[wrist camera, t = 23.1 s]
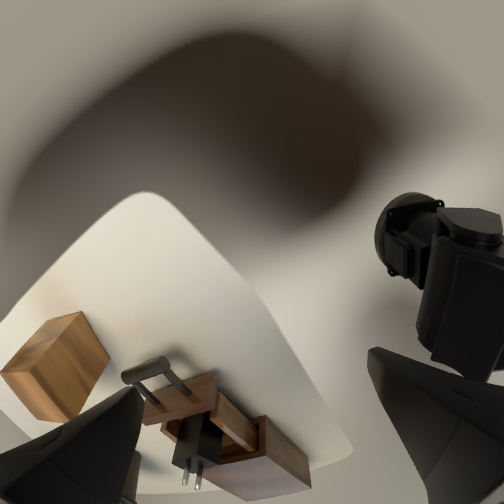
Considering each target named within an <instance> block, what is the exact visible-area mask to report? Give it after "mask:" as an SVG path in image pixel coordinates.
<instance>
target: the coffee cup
mask: <svg viewBox="0 0 504 504" xmlns="http://www.w3.org/2000/svg"><path fill="white" fill-rule="evenodd" d="M140 462H141V455H140V454H139V453H138V452H137V451H136V450H135V451H134V455H133V458H132V462H131V465H130V469H129V473H128V476H127V480H126V484H125V487H124V491H123V495H122V499H121V503H120V504H137V502H135V498H136V490H137V482H138V475H139V468H140Z"/></svg>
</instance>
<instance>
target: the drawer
mask: <svg viewBox="0 0 504 504" xmlns="http://www.w3.org/2000/svg"><path fill="white" fill-rule="evenodd" d="M162 373H163V375H164V376H165V377H166V378H167V379H168V380H169V381H170V382H171V383H172V384H173V385H172V386H169V387H166V388H163V389H160V390H157V391H154V392H150V391H149V390H148V389H147V388H146V387H145V386H144V385H143V384H142V383H141V382H140V381H142V380H145V379H148V378H151V377H154V376H156V375H159V374H162ZM121 379H122V381H123V382H124V383H125V384H127V385H130V384H132V385H133V386H134V387H136V388H137V390H138V391H139V392H140V393H141V394H142V395H143V396H144V397H145V398H146V399H145V407H144V413H143V418H142V423H143V424H144V425H145V426H148V425H153V424H158V423H162V426H161V429H160V431H161V432H162V433H163V434H165V435H166V436H167V437H168V438H170V439H171V440H172V441H174V442H175V443H176V442H177V437H178V433H179V429H180V425H181V421H182V419H183V418H185V417H188V416H191V415H195V414H199V413H203V412H206V411H210V410H211V415H210V420H211V421H212V422H213V423H214V424H216V425H217V426H218V427H219V428H220V429H221V430H223V437H222V446H221V456H220V460H221V459H226V458H231V457H236V456H240V455H245V454H249V453H253V452H257V451H259V430H258V429H257V428H256V427H255V426H254V425H253V424H252V423H251V422H250V421H249V420H248V419H247V418H246V417H245V416H243V415H242V414H241V413H240V412H239V411H238V410H237V409H236V408H235V407H234V406H233V405H232V404H231V403H230V402H229V401H228V400H227V399H226V398H225V397H224V396H223V395H222V393H221V392H219V393H217V388H218V381H219V379H218V378H217V377H216V376H215V375H214V374H213V373H212V372H210V373H207V374H204V375H202V376H199V377H196V378H193V379H190V380H187V381H184V382H182V381H181V380H180V379H179V378H178V377H177V376H176V374H175V373H174V372H173V371H172V370H171V369H170V363H169V361H168V359H167V358H166V357H164V356H160V357H158V358H155V359H153V360H150V361H148V362H145V363H143V364H140V365H137V366H135V367H132V368H130V369H127V370H124V371H122V373H121Z"/></svg>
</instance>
